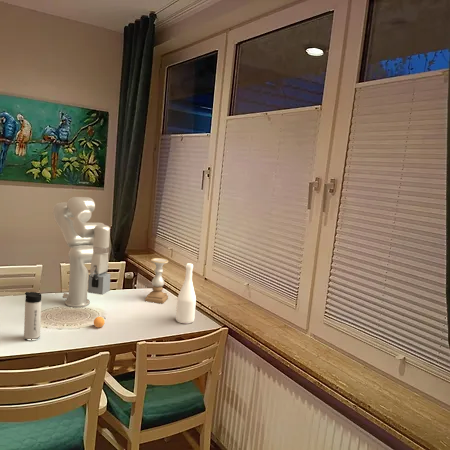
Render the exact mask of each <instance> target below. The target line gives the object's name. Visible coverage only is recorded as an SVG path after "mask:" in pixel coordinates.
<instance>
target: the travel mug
mask: <svg viewBox="0 0 450 450" xmlns="http://www.w3.org/2000/svg"><path fill="white" fill-rule="evenodd" d="M24 295H25V302H24V321H23V322H24V325H23V327H24V328H23V329H24V330H23V339H24V338H25V339H31V340H32V339H38V338H39V337H40V338H41V317H42V294H41V293H40V292H36V291H26V292H25V293H24ZM40 338H39V339H40ZM25 339H24V340H25ZM39 339H38V340H39Z"/></svg>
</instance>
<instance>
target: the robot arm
mask: <svg viewBox="0 0 450 450" xmlns="http://www.w3.org/2000/svg"><path fill="white" fill-rule="evenodd" d="M95 209H96V202H95V200H94V199H93V198H91V197H88V196H73V197H70V198H69V199H68V200H67V201H64V202H63V201H62V202H57V203H56V204H54V205H53V208H52V215H53V219H54V221H55V223H56V224H57V226H58V227H59V229H60V231H61V233H62V235H63V238H64V240H65V242H66V245H67V247H68V248H70V249H69V251H68V260H69V282H68V293H66V292H65V293H63V295H62V298H63V299H66V300H65V301H64V303H65V305H66V306H68V307H73V308H79V307H80V308H81V307H86V306H89V304H90V303H91V302H90V301H91V300H90V299H88V280H89V271H90V274H91V277H92V287H96V288H98V281H99V280H98V276H99V274H101V273H108V271H109V267H110V266H109V254H110V236H111V228H110V226H109V225H107V224H104V222H88V221H90V219H92V213H93V212H95ZM71 218H73V219H71ZM85 264H90V270H88V268H87V267H86V265H85ZM95 272H98V273H95ZM96 275H97V276H96Z"/></svg>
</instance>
